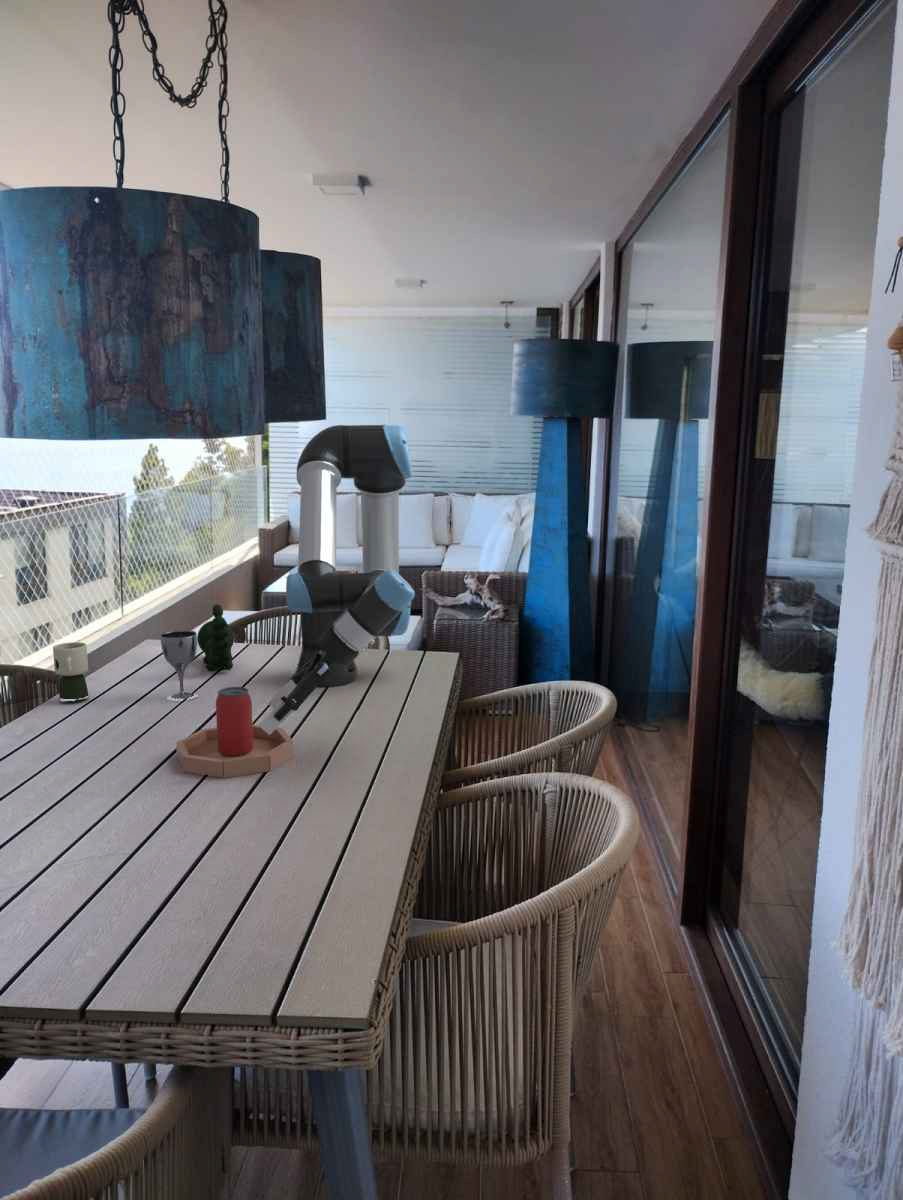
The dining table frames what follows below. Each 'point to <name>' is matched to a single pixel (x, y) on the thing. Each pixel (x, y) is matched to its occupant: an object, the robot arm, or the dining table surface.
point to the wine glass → (179, 654)
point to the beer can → (234, 721)
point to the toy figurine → (216, 641)
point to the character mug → (71, 669)
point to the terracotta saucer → (205, 758)
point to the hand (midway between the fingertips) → (268, 718)
